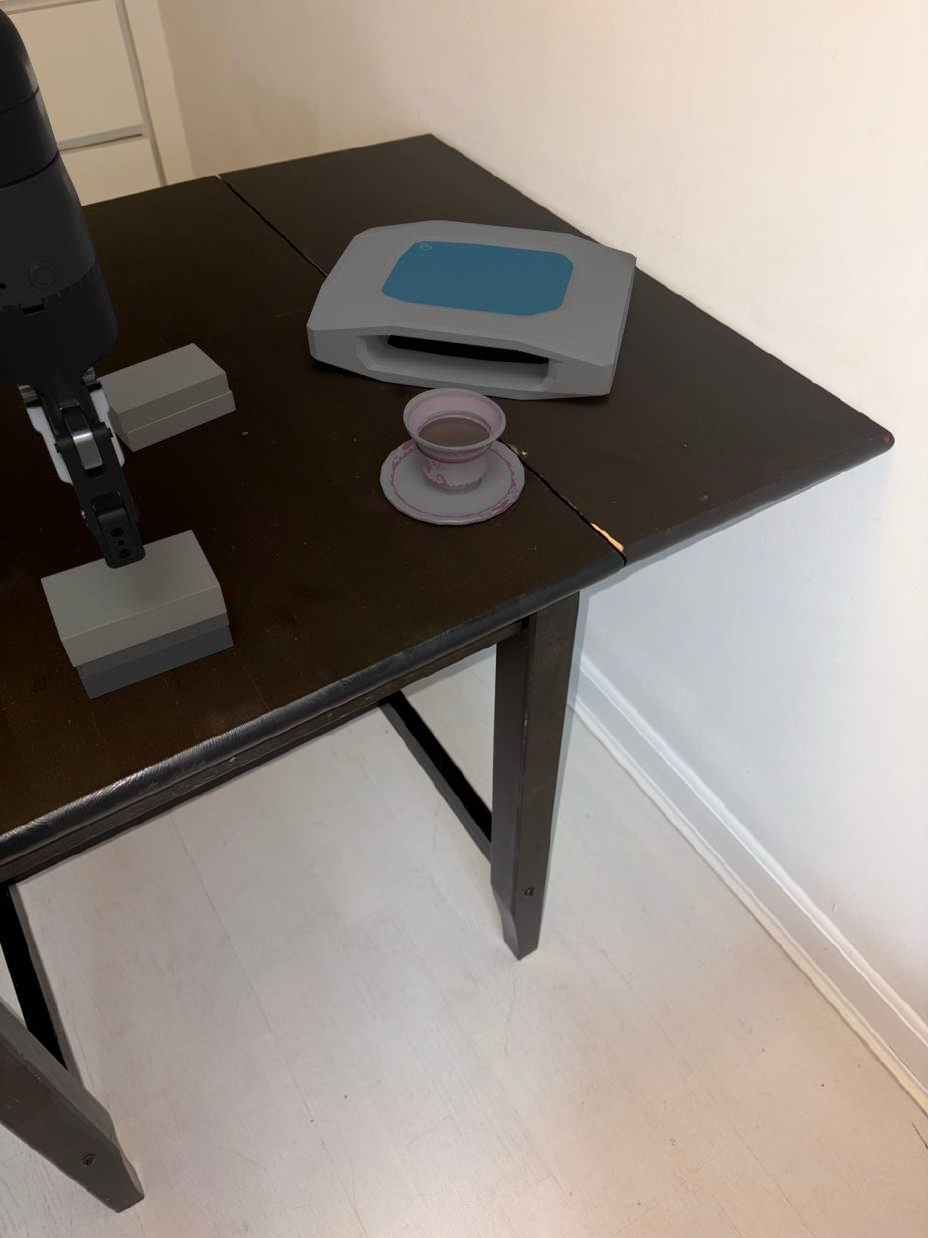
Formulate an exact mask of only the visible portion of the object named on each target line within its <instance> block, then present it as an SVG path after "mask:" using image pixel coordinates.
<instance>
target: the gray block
mask: <svg viewBox="0 0 928 1238" xmlns="http://www.w3.org/2000/svg"><path fill="white" fill-rule="evenodd" d="M229 625H230V620H229V616H228V611H227V612H226V613H223V614H221V615H218V616H215V617H212V618H209V619H207V620H204V621H201V622H198V623H196V624H193V625H190V626H187V627H184V628H182V629H179V630H176V631H173V632H170V633H168V634H165V635H162V636H159V637H157V638H154V639H151V640H148V641H145V642H143V643H140V644H137V645H134V646H131V647H129V648H126V649H123V650H120V651H117V652H115V653H112V654H109V655H106V656H104V657H101V658H98V659H95V660H92V661H90V662H87V663H84V664H81V665H78V666H76V667H75V668H76V671H77V673H78V676H79V679H80V681H81V683H82V686H83V689H84V690H85V692H86V694H87V696H88V698H89V700H92V699H96V698H98V697H101V696H104V695H105V694H109V693H112V692H115V691H117V690H119V689H122V688H125V687H128V686H130V685H133V684H136V683H138V682H141V681H144V680H146V679H149V678H152V677H154V676H157V675H160V674H163V673H165V672H168V671H171V670H173V669H176V668H179V667H181V666H184V665H187V664H189V663H193V662H195V661H198V660H199V659H203V658H205V657H208V656H211V655H213V654H217V653H220V652H223V651H224V650H227V649H230V648H233V647H234V646H235V645H234V641H233V637H232V633H231V630H230V626H229Z"/></svg>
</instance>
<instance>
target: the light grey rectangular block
mask: <svg viewBox="0 0 928 1238" xmlns="http://www.w3.org/2000/svg"><path fill="white" fill-rule="evenodd" d="M143 546H144V549H145V552H146V555H145V557H144V558H143V559H142V560H140V561H138V562H135V563H132V564H129V565H126V566H123V567H120V568H117V569H112V568H109V567H108V566H107V564H106V561H105V559H104V557H103V558H100V559H97V560H94V561H91V562H88V563H85V564H82V565H78V566H76V567H72V568H69V569H67V570H63V571H61V572H57V573H53V574H51V575H48V576H44V577H42V578H40V582H41V585H42V588H43V591H44V593H45V597H46V600H47V603H48V606H49V609H50V612H51V615H52V618H53V621H54V624H55V627H56V630H57V633H58V636H59V639H60V642H61V643H62V646H63V648H64V650H65V652H66V655H67V656H68V659H69V661H70V663H71V665H72V667H73V668H77V667H76V666H78V665H81V664H84V663H87V662H90V661H92V660H95V659H98V658H101V657H104V656H106V655H109V654H112V653H115V652H117V651H120V650H123V649H126V648H129V647H131V646H134V645H137V644H140V643H143V642H145V641H148V640H151V639H154V638H157V637H159V636H162V635H165V634H168V633H170V632H173V631H176V630H179V629H182V628H184V627H187V626H190V625H193V624H196V623H198V622H201V621H204V620H207V619H209V618H212V617H215V616H218V615H221V614H223V613H226V612H227V613H228V611H227V610H228V609H227V606H226V603H225V598H224V595H223V591H222V588H221V584H220V582H219V581H218V578H217V576H216V574H215V572H214V570H213V568H212V567H211V565H210V563H209V561H208V559H207V557H206V555H205V553H204V551H203V549H202V547H201V545H200V543H199V540H198V539H197V537H196V535H195V533H194V532H193V530H192V529H189V530H186V531H183V532H180V533H177V534H174V535H171V536H168V537H165V538H162V539H158V540H155V541H153V542H149V543H146V544H143Z"/></svg>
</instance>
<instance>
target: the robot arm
mask: <svg viewBox="0 0 928 1238" xmlns="http://www.w3.org/2000/svg"><path fill="white" fill-rule="evenodd" d="M41 91H42V90H41V88H40V85H39V82H38V78H37V74H36V72H35V69H34V67H33V63H32V62H31V58H30V55H29V52H28V50H27V47H26V45H25V42H24V41H23V37H22V36H21V34H20V32H19V30H18V28H17V27H16V25H15V23H14V22H13V21H12V19H11V18H10V17H9V16H8V14H7V13H6V12H5V11H4V10H3V9H2V8H0V383H1V384H7V385H16V386H17V388H18V390H19V393H20V395H21V398H22V400H23V404H24V407H25V409H26V412H27V414H28V417H29V419H30V421H31V424H32V426H33V428H34V430H35V431H36V432H37V433H39V434H40V435H42V438H43V440H44V443H45V445H46V448H47V451H48V453H49V456H50V457H51V460H52V463H53V465H54V468H55V470H56V473H57V475H58V477H59V479H60V481H62V482H64V483H65V484H70V485H72V486H73V488H74V490H75V493H76V496H77V499H78V500H79V503H80V506H81V508H82V509H80V510H79V511H80V514H81V516H82V519H83V520H85V521H84V524H85V527H86V529H87V531H88V532H89V531H91V534H92V535H93V537H95V539H96V541H97V544H98V547H99V548H100V551H101V554H102V556H103V558H104V559H105V561H106V564H107V566H108V567H109V568H112V569H117V568H120V567H123V566H126V565H129V564H132V563H135V562H138V561H140V560H142V559H143V558H144V557H145V555H146V552H145V549H144V546H143V545H144V544H143V541H142V537H141V535H140V533H139V529H138V527H137V524H136V523H139V522H140V521H141V520H140V517H139V515H141V513H140V510H139V507H138V505H137V504H135V502H134V499H133V496H132V494H131V491H130V489H129V485H128V483H127V480H126V477H125V474H124V472H123V468H122V467H123V465H125V456H124V453H123V450H122V447H121V445H120V443H119V440H118V436H117V434H116V433H115V432H114V429H113V426H112V424H111V421H110V419H109V416H108V413H109V410H110V405H109V402H108V400H107V397H106V394H105V392H104V389H103V387H102V384H101V382H100V380H99V381H97V376H96V372H95V369H94V367H93V366H94V365H95V364H97V363H98V362H101V360H103V359H104V358H105V357H106V356H107V355H108V354H109V353H110V352H111V350H112V348H113V347H114V346H115V344H116V341H117V340H118V334H119V325H118V321H117V317H116V314H115V311H114V308H113V305H112V301H111V298H110V295H109V291H108V288H107V285H106V282H105V277H104V275H103V272H102V269H101V265H100V261H99V258H98V254H97V251H96V248H95V245H94V242H93V239H92V235H91V232H90V229H89V225H88V222H87V219H86V215H85V212H84V210H83V206H82V202H81V200H80V197H79V194H78V192H77V189H76V187H75V184H74V182H73V180H72V179H71V176H70V174H69V172H68V170H67V167H66V165H65V163H64V160H63V158H62V155H61V152H60V150H59V148H58V143H57V140H56V137H55V136H56V135H55V134H54V130H53V128H52V127H53V126H52V124H51V121H50V117H49V114H48V111H47V108H46V104H45V101H44V98H43V93H42V92H41Z"/></svg>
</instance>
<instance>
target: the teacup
mask: <svg viewBox="0 0 928 1238" xmlns="http://www.w3.org/2000/svg"><path fill="white" fill-rule="evenodd" d="M402 418H403V423H404V426H405V429H406V432H407V434H408V436H409V437H410V438H411V439H409V440H406V441H404V442H403V443H402V444H400V445H399V446H398V447H396V448H395V449H393V450H392V451H390V452H389V454H388V456H387V457H386V459H385V460H384V462H382V463H383V464H382V465H381V469H380V477H379V484H380V486H381V489H382V492H383V495H384V498H386V500H387V501H388V502H389V503H390V504H391V505H392V506H393V507H394V508H395V509H396V510H397V511H398V512H401V513H402V514H405V515H407V516H408V517H410V518H413V519H414V520H418V521H422V522H425V523H430V524H435V525H440V526H441V525H442V526H445V525H446V526H463V525H470V524H474V523H479V522H484V521H487V520H489V519H491V518H493V517H496V516H497V515H499V514H503V513H504V512H505V511H506V510H508V509H509V508H510V507H511V506H512V505H513V504H514V503H515V502H517V501H518V499H519V498H520V495H521V494H522V491H523V489H524V487H525V468H524V466H523V464H522V462H521V460H520V458H519V457H518V454H516V453H515V452H514V451H513V450H512V449H510V448H509V447H508V446H507V445H506V444H504V443H502V442H501V441H499V440H497V439H498V438H500V436H502V434H503V433H504V431H505V428H506V426H507V417H506V415H505V412H504V411H503V409H502V408H501V407H500V406H499V404H497V403H496V402H495V401H494V400H492V399H491V398H489V397H487V395H482V394H479V393H476V392H473V391H470V390H465V389H459V388H440V389H436V388H432V389H430V390H426V391H423V392H421V393H418V394H417V395H415V396H414V397H412V398H411V399H410V400H409V401H408V403H407V404H406V405H405V407H404V410H403V414H402Z"/></svg>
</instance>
